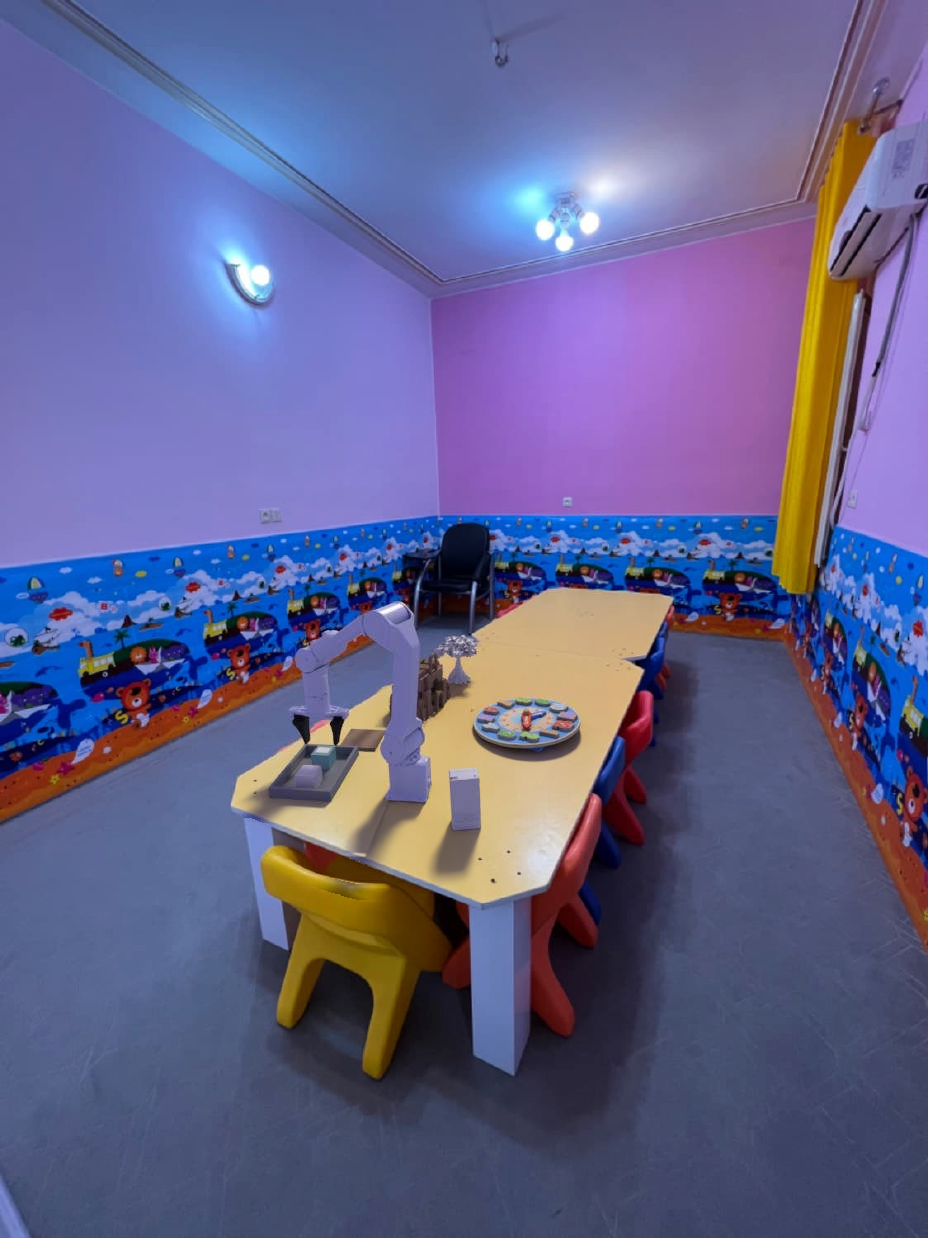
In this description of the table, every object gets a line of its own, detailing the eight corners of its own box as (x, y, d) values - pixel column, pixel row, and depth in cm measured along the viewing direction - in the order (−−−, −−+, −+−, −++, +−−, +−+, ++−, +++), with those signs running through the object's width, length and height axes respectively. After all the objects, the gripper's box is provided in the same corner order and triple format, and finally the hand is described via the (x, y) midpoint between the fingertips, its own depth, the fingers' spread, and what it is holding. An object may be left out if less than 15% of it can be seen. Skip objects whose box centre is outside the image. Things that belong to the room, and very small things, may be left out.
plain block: (322, 780, 117) (321, 765, 115) (315, 791, 112) (313, 776, 111) (304, 779, 117) (303, 764, 116) (296, 790, 113) (294, 775, 112)
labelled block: (336, 760, 125) (334, 745, 124) (329, 769, 121) (328, 755, 120) (319, 759, 126) (318, 745, 125) (312, 769, 121) (310, 754, 120)
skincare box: (478, 815, 104) (478, 765, 101) (481, 830, 100) (481, 778, 96) (450, 818, 103) (448, 767, 100) (451, 832, 99) (450, 780, 96)
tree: (473, 668, 187) (472, 627, 182) (490, 684, 172) (489, 639, 168) (428, 676, 181) (426, 633, 176) (441, 692, 166) (440, 646, 162)
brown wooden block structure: (418, 689, 169) (416, 638, 164) (456, 696, 163) (455, 643, 158) (383, 716, 150) (379, 659, 145) (424, 724, 144) (422, 666, 139)
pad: (385, 733, 139) (385, 730, 139) (375, 752, 129) (375, 748, 129) (351, 732, 140) (351, 728, 140) (339, 750, 130) (338, 746, 130)
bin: (359, 756, 128) (358, 746, 127) (331, 803, 109) (330, 791, 108) (306, 753, 129) (304, 743, 128) (269, 799, 111) (268, 788, 110)
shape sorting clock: (507, 697, 162) (507, 680, 160) (596, 721, 145) (597, 702, 143) (452, 736, 138) (452, 716, 136) (551, 770, 121) (551, 748, 119)
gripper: (351, 687, 121) (355, 736, 125) (295, 685, 123) (301, 733, 126) (341, 699, 114) (345, 750, 118) (282, 696, 116) (288, 747, 120)
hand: (322, 742), depth 122 cm, fingers open, 7 cm apart
